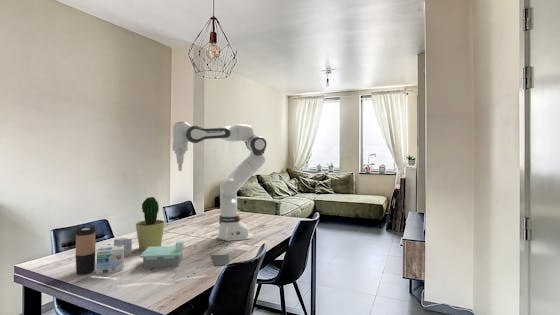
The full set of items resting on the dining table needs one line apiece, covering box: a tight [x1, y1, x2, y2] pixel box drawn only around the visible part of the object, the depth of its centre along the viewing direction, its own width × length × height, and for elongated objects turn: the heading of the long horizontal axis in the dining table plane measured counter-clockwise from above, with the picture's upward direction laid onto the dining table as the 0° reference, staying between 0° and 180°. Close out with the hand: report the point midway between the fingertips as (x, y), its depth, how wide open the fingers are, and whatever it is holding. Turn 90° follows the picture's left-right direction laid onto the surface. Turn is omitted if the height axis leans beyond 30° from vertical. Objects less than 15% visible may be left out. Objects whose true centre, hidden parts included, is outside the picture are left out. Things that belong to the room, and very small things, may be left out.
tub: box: [142, 253, 183, 269], centre depth 148 cm, size 16×11×6 cm
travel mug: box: [75, 226, 96, 276], centre depth 138 cm, size 8×8×20 cm
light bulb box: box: [95, 245, 125, 275], centre depth 139 cm, size 11×7×11 cm, turn 114°
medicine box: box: [113, 237, 133, 258], centre depth 160 cm, size 8×4×9 cm, turn 71°
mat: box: [210, 253, 230, 267], centre depth 154 cm, size 19×15×1 cm
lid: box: [139, 240, 186, 260], centre depth 148 cm, size 18×14×6 cm
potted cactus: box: [135, 196, 165, 251], centre depth 173 cm, size 15×15×30 cm
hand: (180, 170), depth 186 cm, fingers open, 8 cm apart
